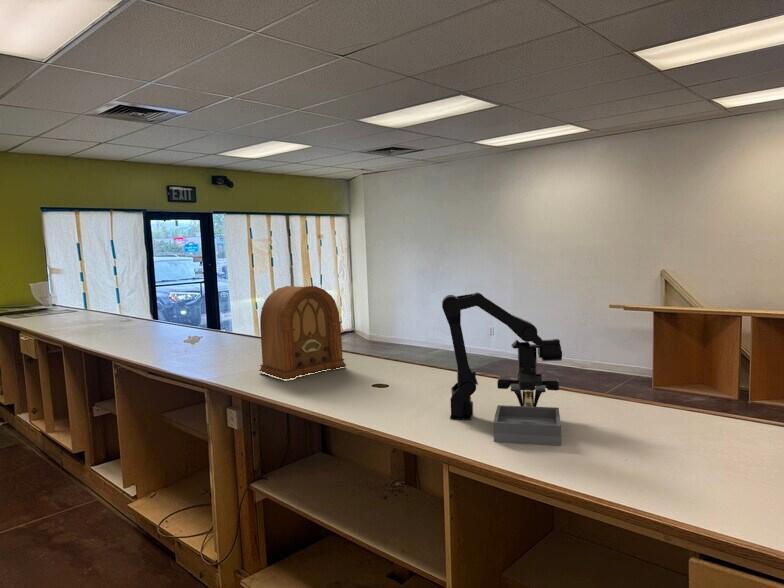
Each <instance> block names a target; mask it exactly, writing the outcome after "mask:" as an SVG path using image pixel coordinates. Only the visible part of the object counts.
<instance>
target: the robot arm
mask: <svg viewBox="0 0 784 588" xmlns="http://www.w3.org/2000/svg"><path fill="white" fill-rule="evenodd" d="M473 307H478V308H479V309H481V310H482V311H484V312H486V313H487V314H489V315H490V316H492V317H493V318H495V319H496V320H498V321H500V322H501V323H503V324H504V325H506V326H507V327H508V328H509V329H510V330H511V331H512V332H513V333H515V334H514V335H517V336H518V337H519V339H521V341H519V340H518V339H515V341H514V342H513V343H512V344H511V347H512V348H513V349H517V360H518V361H517V366H518V367H517V368H518V369H517V370H518V374H517V379H512V377H511V376H509V375H507V376H505V375H500V376H498V378H497V389H499V390H500V389H501V390H508V389H509V388H510V392H512V393H514V394H515V396H516V397H517V400H518V403H519V406H523V392H522V391H523V390H531V391H534V407H538V406H537V405H538V402H539V400H540V397H541V395H542V393H546V390H548V391H559V390H560V382H559V378H558V377H557V376H556V377H553V376H552V377H551V376H548V377H545V379H542V377H543V376H542V373H538V367H537V366H538V363H537V362H538V360H537V359H541V361H542V362H556V361H557V362H558V361H562V359H563V351H562V345H561V341H560V339H558V338H553V339H542V338H541V336H539V335H538V329H537V327H536V326H535V325H534V324H532V322H531V321H528V320H526V319H523V318H521V317H518V316H516V315H513V314H512V313H510V312H508V311H507V310H505V309H504V308H502V307H501V306H499V305H498V304H496V303H494V302H493V301H491V299H488V298H487V297H486V296H484V295H483V294H482V293H480V292H474V293H469V294H462V295H457V296H456V295H455V294H454V295H453V294H447V295H445V297H443V299H442V301H441V309H442V310H443V314H444V316H445V319H446V321H447V323H448V326H449V331H450V335H451V340H452V345H453V350H454V356H455V361H456V365H457V366H456V372H457V373H456V374H457V375H456V380H457V381H456V383H455V384H454V385H453V386H452V387H451V388H450V390H451V392H450V393H451V397H450V415H449V418H450V420H466V421H468V420H469V421H470V420H471V418H472V417H473V415H474V401H472V397H471V396H472V395H473V394H474V393H475V392H476V390H477V386H478V385H479V383H478V382H479V381H478V379H477V376H476V375H477V373H476V369H475V367H472V368H471V367H470V365H469V361H468V355H467V351H466V345H465V341H464V334H463V330H462V325H461V324H462V323H461V321H462V320H461V317H462V316H461V315H462V310H466V309H470V308H473ZM530 342H531V344H530ZM532 343H533V344H532ZM537 357H538V358H537Z"/></svg>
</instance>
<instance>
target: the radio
mask: <svg viewBox="0 0 784 588" xmlns="http://www.w3.org/2000/svg"><path fill="white" fill-rule="evenodd" d="M260 311H261V312H260V320H259V321H260V325H259V326H260V343H261V360H262V364H259V366H260V368H259V370H258V372H259V371H262V372H265V373H267V374H270V375H273V376H276V377H279V378H282V379H290V378H295V377H296V376H299V375H305V374H308V373H315V372H318V371H322V370H327V369H336V368H340V367H345V368H346V366H347V364H346V363H345V362H344V360H345V358H343V345H342V329H341V328H342V326H341V324H342V321H340V311H339V309H338V305H337V303H336V301H335V298H333V296H332V295H331V294H330V293H328V292H327V291H326V289H323V288H320V287H318V286H315V285H306V286H292V285H286V286H282V287H279V288H277V289H275V290H274V291H273V292H271V293H270V294H269V295H268V296H267V298H266V299H265V300H264V302H263V305H262V307H261V310H260Z"/></svg>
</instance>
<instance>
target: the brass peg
mask: <svg viewBox="0 0 784 588" xmlns="http://www.w3.org/2000/svg"><path fill="white" fill-rule="evenodd" d="M534 398H535V390H533V391H531V390H522V400H523V406H530V407H534Z"/></svg>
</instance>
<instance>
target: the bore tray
mask: <svg viewBox="0 0 784 588" xmlns="http://www.w3.org/2000/svg"><path fill="white" fill-rule="evenodd" d="M492 424H493V425H492V426H493V427H492V429H493V430H492V431H493V442H495V443H509V444H510V443H511V444H512V443H513V444H527V445H528V444H529V445H543V446H562V425H561V415H560V408H559V407H555V406H553V407H552V406H536V407H530V406H520V405H506V404H505V405H503V404H502V405H500V404H497V407H496V411H495V415H494V419H493V423H492Z"/></svg>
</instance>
